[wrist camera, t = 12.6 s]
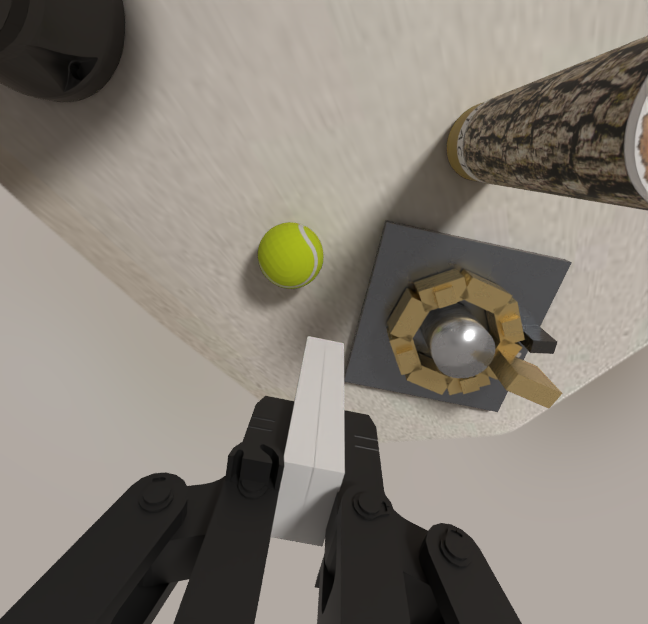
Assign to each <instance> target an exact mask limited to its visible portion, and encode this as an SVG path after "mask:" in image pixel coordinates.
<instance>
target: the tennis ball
mask: <svg viewBox="0 0 648 624" xmlns="http://www.w3.org/2000/svg"><path fill="white" fill-rule="evenodd" d="M258 260H259V266H260V269H261V271H262V272H263V274H264V275H265V277H266V278H267V279H268V280H269V281H270V282H272V283H273V284H275V285H277V286H279V287H282V288H288V289H294V288H299V287H302V286H305V285H307V284H309V283H310V282H311V281H313V280H314V279H315V277H316V276H317V275H318V273H319V271H320V269H321V267H322V264H323V249H322V245H321V243H320V240H319V239H318V237H317V236H316V234H315V233H314V232H313V231H311V230H310V229H309V228H307V227H306V226H303V225H300V224H298V223H290V222H289V223H282V224H280V225H277V226H275V227H273V228H272V229H270V230H269V231H268V232H267V233H266V234H265V235H264V237H263V238H262V240H261V242H260V245H259V248H258Z"/></svg>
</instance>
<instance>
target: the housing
mask: <svg viewBox="0 0 648 624" xmlns="http://www.w3.org/2000/svg"><path fill="white" fill-rule="evenodd" d="M571 263H572V262H570V261H567V260H565V259H561V258H556V257H551V256H547V255H542V254H537V253H533V252H528V251H523V250H519V249H514V248H510V247H505V246H500V245H496V244H491V243H486V242H482V241H477V240H473V239H468V238H463V237H459V236H454V235H449V234H445V233H440V232H435V231H431V230H426V229H422V228H417V227H412V226H408V225H403V224H398V223H394V222H389V221H385V225H384V229H383V232H382V236H381V240H380V244H379V247H378V251H377V255H376V259H375V262H374V266H373V270H372V274H371V277H370V281H369V285H368V289H367V292H366V296H365V300H364V304H363V307H362V311H361V315H360V319H359V322H358V326H357V330H356V334H355V337H354V341H353V345H352V349H351V352H350V356H349V360H348V364H347V367H346V371H345V375H344V382H349V383H354V384H359V385H364V386H369V387H374V388H380V389H385V390H390V391H395V392H400V393H405V394H410V395H415V396H420V397H425V398H430V399H435V400H440V401H445V402H450V403H455V404H460V405H465V406H470V407H475V408H480V409H485V410H490V411H495V412H498V410H499V408H500V406H501V404H502V402H503V400H504V398H505V396H506V394H507V392H508V391H507V390H506V389H505V388H504V387H503V385H502V384H501V382H500V381H499V380H496V379H494V378H492V377H489V380H490V385H486V386H482V387H479V388H480V390H477V391H474V392H470V393H466V394H463V392H460V393H457V394H453V395H449V393H448V391H447V389H446V390H445V391H444V393H443V394H442V395H441V394H438V393H436V392H434V391H431V390H429V389H426V388H424V387H422V386H419V385H417V384H414V383H412V382H410V381H407V380H406V377H405V374H404V375H401V372H400V369H399V367H398V364H397V361H396V358H395V355H394V352H393V350H392V347H391V344H390V341H389V337H388V333H387V329H388V328H389V327H388V323H387V321H388V320H389V318H390V316H391V314H392V313H393V311H394V309H395V308H396V306H397V304H398V302H399V301H400V299H401V297H402V295H403V294H404V292H405V290H406V288H409V289H411V290H413V291H415V292H416V290H415V286H414V283H413V282H416V281H419V280H422V279H425V278H428V277H431V276H434V275H437V274H440V273H443V272H446V271H449V270H452V269H457V270H458V271H459V272H460V273H461V272H462V271H463V269H465V270H467V271H470V272H472V273H474V274H476V275H478V276H480V277H482V278H485V279H487V280H489V281H491V282H493V283H495V284H497V285H499V286H501V287H502V288H504V289H505V290H506V291H507V292H509V293H510V294H511V295H512V298H513V299H515V300H516V301H517V302H518V308H519V313H520V318H521V323H522V328H523V333H524V339H525V340H522V341H519V342H518V343H519V344H520V345H521V346H522V349H521V350H520V351H519V353H518V354H517V355H516V356H515V357H517V358H519V359H522V360H524V358H525V356H526V354H527V352H528V351H529V352H530V353H549V354H554V351H555V348H556V345H557V341H556V340H555V339H553V338H552V337H551V336H550V335H549V334H548V333H546V332H545V331H544V330H543V329H542V328H540V325H541V323H542V321H543V319H544V317H545V315H546V313H547V311H548V309H549V307H550V305H551V303H552V301H553V299H554V297H555V295H556V293H557V291H558V289H559V287H560V285H561V283H562V281H563V279H564V277H565V275H566V273H567V271H568V269H569V267H570V265H571ZM489 331H490V328H489V324H488V319H487V315H486V311H485V309H483V308H481V307H479V306H477V305H474V304H472V303H470V302H468V301H466V300H462V301H459V302H457V303H455V304H452V305H449V306H446V307H443V308H437V309H434V310H431V311H429V313H428V314H427V316H426V318H425V319H424V321H423V322H422V324H421V326H420V327H419V329H418V330H417V332H416V334H415V335H414V337H413V341H414V345H415V348H416V351H417V353H420V354H422V355H424V356H427V357H429V358H431V359H433V360H434V362H435V364H436V366H437V367H438V369H439V370H440V371H441V372H442V373H444V374H445V375H447V376H450V377H453V378H469V377H472V376H475V375H477V374H479V373H481V372H482V371H484V370H485V369H486V368H487V367H488V366H489V365H490V363H491V362H492V360H493V358H494V355H495V343H494V340H493V338H492V337H491V335H490V334H489V333H488V332H489Z"/></svg>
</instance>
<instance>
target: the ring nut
mask: <svg viewBox="0 0 648 624" xmlns="http://www.w3.org/2000/svg"><path fill="white" fill-rule="evenodd" d="M413 283H414V286H415V290H416V292H415V291H413V290H411V289H409V288H406V290H405V292H404V294H403V295H402V297H401V299H400V301H399V302H398V304H397V306H396V308H395V309H394V311H393V313H392V314H391V316H390V318H389V320H388V321H387V323H388V327H389V328H388V329H387V333H388V337H389V341H390V344H391V347H392V350H393V352H394V355H395V358H396V361H397V364H398V367H399V369H400V372H401V375H404V374H405V377H406V380H407V381H410V382H412V383H414V384H417V385H419V386H422V387H424V388H426V389H429V390H431V391H434V392H436V393H438V394H441V395H442V394H443V393H444V391H445V390H446V389H447V391H448V393H449V395H453V394H457V393H460V392H463V394H466V393H470V392H474V391H477V390H480V388H479V387H482V386H486V385H490V380H489V377H492V378H494V379H496V380H499V381H500V382H501V384H502V385H503V387H504V388H505V389H506V390H507V391H509V392H512V393H514V394H516V395H519V396H521V397H523V398H526V399H528V400H530V401H533V402H535V403H537V404H540V405H542V406H544V407H547V408H550V407H551V406H552V405H553V403H554V402H555V401H556V400H557V399H558V398H559V397H560V395H561V394H562V392H561V391H560V390H559V389H558V388H557V387H556V386H555V385H554V384H553V383H552V382H551V381H550V380H549V379H548V377H547V376H546V375H545V374H544V373H543V372H542V371H541V370H540V369H539V368H538V367H537V366H535V365H533V364H531V363H528V362H526V361H524V360H522V359H519V358H517V357H515V356H516V355H517V354H518V353H519V351H520V350H521V349H522V346H521V345H520V344H519V343H518V342H519V341H522V340H525V339H524V333H523V328H522V323H521V318H520V313H519V308H518V302H517V301H516V300H515V299H513V298H512V295H511V294H510V293H509V292H507V291H506V290H505V289H504V288H502V287H501V286H499V285H497V284H495V283H493V282H491V281H489V280H487V279H485V278H482V277H480V276H478V275H476V274H474V273H472V272H470V271H467V270H465V269H463V271H462V272H461V273H460V272H459V271H458V270H457V269H452V270H449V271H446V272H443V273H440V274H437V275H434V276H431V277H428V278H425V279H422V280H419V281H416V282H413ZM462 300H466V301H468V302H470V303H472V304H474V305H477V306H479V307H481V308H483V309H485V311H486V315H487V319H488V324H489V328H490V331H489V332H488V333H489V334H490V335H491V337H492V338H493V340H494V343H495V355H494V358H493V360H492V362H491V363H490V365H489V366H488V367H487V368H486V369H485V370H484V371H482V372H481V373H479V374H477V375H475V376H472V377H469V378H453V377H450V376H447V375H445V374H444V373H442V372H441V371H440V370H439V369H438V367H437V366H436V364H435V362H434V360H433V359H431V358H429V357H427V356H424V355H422V354H420V353H417V351H416V348H415V345H414V341H413V337H414V335H415V334H416V332H417V330H418V329H419V327H420V326H421V324H422V322H423V321H424V319H425V318H426V316H427V314H428V313H429V311H431V310H434V309H437V308H443V307H446V306H449V305H452V304H455V303H457V302H459V301H462Z"/></svg>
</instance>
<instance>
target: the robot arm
mask: <svg viewBox="0 0 648 624" xmlns="http://www.w3.org/2000/svg"><path fill="white" fill-rule="evenodd" d="M124 35H125V16H124V7H123V1H122V0H0V83H2V84H3V85H5V86H7V87H9V88H11V89H13V90H15V91H17V92H20V93H22V94H25V95H28V96H32V97H35V98H40V99H45V100H50V101H57V102H71V101H77V100H81V99H84V98H86V97H89V96H91V95H92V94H94V93H96V92H97V91H98V90H100V89H101V88H102V87H103V86H104V85H105V84H106V83H107V82H108V80H109V79H110V78H111V76H112V75H113V73H114V71H115V69H116V67H117V65H118V62H119V60H120V57H121V53H122V49H123V44H124ZM377 439H378V438H377V430H376V426H375V424H374V423H373V421H372V419H371V418H370V416H369V415H366V414H361V413H356V412H351V411H345V410H344V343H340V342H335V341H330V340H325V339H320V338H315V337H310V336H308V337H307V342H306V347H305V352H304V357H303V361H302V366H301V371H300V376H299V381H298V386H297V390H296V395H295V400H294V401H289V400H284V399H279V398H274V397H269V396H265V397H264V398H262V399H261V400H260V401H259V402H258V403H257V404H256V406H255V409H254V412H253V414H252V417H251V420H250V422H249V425H248V428H247V431H246V434H245V437H244V439H243V442H241V443H240V444H239V445H237V446H235V447H234V448H233V449H232V451H231V452H230V454H229V455H228V463H227V470H226V476H224V477H223V478H221V479H220V480H217V481H215V482H212V483H207V484H202V485H192V486H187V485H186V484H185V482H184V480H183V479H181V478H180V477H178V476H177V475H174V474H169V473H155V474H151V475H149V476H146V477H144V478H141V479H140V480H139V481H137V482H136V483H135V484H133V485H132V486H131V487H130V488H129V489H128V490H127V491H126V492H125V493H124V494H123V495H122V496H121V497H120V498H119V499H118V500H117V501H116V502H115V503H114V504H113V505H112V506H111V507H110V508H109V509H108V510H107V511H106V512H105V513H104V514H103V515H102V516H101V517H100V519H98V520H97V521H96V522H95V523H94V524H93V525H92V526H91V527H90V528H89V529H88V530H87V531H86V532H85V534H83V535H82V537H80V538H79V539H78V541H77V542H76V543H75V544H74V545H73V546H72V547H71V548H70V549H69V550H68V551H67V552H66V553H65V554H64V555H63V556H62V557H61V558H60V559H59V560H58V561H57V562H56V563H55V564H54V565H53V566H52V567H51V568H50V569H49V570H48V571H47V572H46V573H45V574H44V575H43V576H42V577H41V578H40V579H39V580H38V581H37V582H36V583H35V584H34V585H33V586H32V587H31V588H30V589H29V590H28V591H27V592H26V593H25V594H24V595H23V596H22V597H21V598H20V599H19V600H18V601H17V602H16V603H15V604H14V605H13V606H12V607H11V609H10V610H8V612H6V614H5V615H4V616H3V617H2V618H1V619H0V624H151V623H152V622H153V620H154V619H155V617H156V615H157V614H158V612H159V611H160V609H161V608H162V606H163V605H164V603H165V601H166V600H167V598H168V597H169V595H170V593H171V592H172V590H173V589H174V587H175V586H176V584H177V583H178V581H182V580H187V579H189V582H188V585H187V588H186V590H185V593H184V596H183V599H182V601H181V604H180V607H179V610H178V613H177V615H176V618H175V621H174V624H254V622H255V617H256V611H257V606H258V601H259V596H260V590H261V585H262V579H263V574H264V568H265V564H266V558H267V553H268V548H269V542H270V537H274V538H280V539H285V540H290V541H296V542H301V543H307V544H312V545H317V546H323V542H324V539H325V554H324V558H323V560H322V564H321V567H320V570H319V573H318V576H317V580H316V584H315V587H317V588H319V601H318V619H317V624H522V623H521V622H520V620H519V618H518V616H517V614H516V613H515V611H514V609H513V607H512V606H511V604H510V602H509V600H508V598H507V597H506V595H505V593H504V591H503V590H502V588H501V586H500V584H499V582H498V581H497V579H496V577H495V576H494V573H493V572H492V570H491V568H490V566H489V565H488V563H487V561H486V559H485V557H484V556H483V554H482V552H481V550H480V549H479V547H478V546H477V545H476V543H475V542H474V540H473V539H472V538H471V537H470V536H469V535H468V534H466V533H465V532H464V531H463V530H461V529H459V528H457V527H455V526H453V525H451V524H444V523H440V524H437V525H433V526H432V527H431V528H430V529H429V531H427V530H425V529H423V528H421V527H419V526H417V525H415V524H413V523H411V522H409V521H408V520H406V519H404V518H403V517H401V516H400V515H399V514H398V513H397V512H396V511H394V509H393V507H392V504H391V502H390V501H389V499H388V498H387V497H386V495H385V492H384V487H383V479H382V471H381V462H380V456H379V455H380V454H379V447H378V441H377Z"/></svg>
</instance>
